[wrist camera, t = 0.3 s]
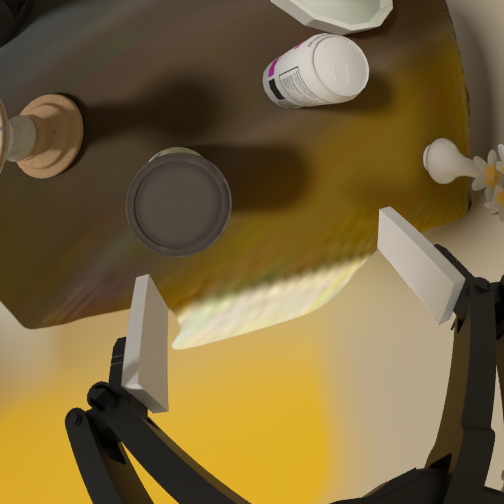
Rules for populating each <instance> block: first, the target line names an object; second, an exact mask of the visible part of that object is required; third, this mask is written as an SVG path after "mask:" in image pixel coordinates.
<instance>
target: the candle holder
mask: <svg viewBox="0 0 504 504" xmlns="http://www.w3.org/2000/svg"><path fill="white" fill-rule="evenodd" d="M83 130H84V128H83V120H82V116H81V113H80V111H79V109H78V107H77V106H76V105H75V103H74V102H73V101H71V100H70V99H69V98H67V97H65V96H63V95H59V94H47V95H43V96H41V97H39V98H37V99H35V100H33V101H32V102H31V103H30V104H28V105H27V106H26V107H25V109H24V110H23V111H22V112H21V114H20V115H18V116H14V117H12V118H10V119H9V120H8V116H7V112H6V109H5V106H4V104H3V102H2V100H1V98H0V174H1V172H2V170H3V166H4V163H5V160H8V161H11V162H17V163H18V165H19V167H20V168H21V169H22V170H23V171H24V172H25V173H27V174H28V175H30V176H32V177H35V178H50V177H53V176H55V175H58V174H59V173H61V172H62V171H64V170H65V169H66V168H67V167H68V166H69V165H70V164H71V163H72V162H73V160H74V159H75V157H76V156H77V154H78V152H79V149H80V147H81V144H82V139H83Z"/></svg>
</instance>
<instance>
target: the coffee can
mask: <svg viewBox="0 0 504 504" xmlns="http://www.w3.org/2000/svg"><path fill="white" fill-rule="evenodd" d="M125 209H126V216H127V220H128V223H129V226H130V228H131V230H132V232H133V233H134V235H135V236H136V238H137V239H138V240H139V241H140V242H141V243H142V244H143V245H144V246H146V247H147V248H148V249H150V250H152V251H154V252H156V253H158V254H161V255H164V256H170V257H185V256H190V255H194V254H197V253H199V252H201V251H203V250H205V249H207V248H208V247H210V246H211V245H212V244H213V243H215V242H216V241H217V240H218V238H219V237H220V236H221V235H222V233H223V232H224V230H225V229H226V226H227V224H228V222H229V219H230V215H231V210H232V196H231V191H230V187H229V185H228V182H227V180H226V178H225V177H224V175H223V174H222V172H221V171H220V170H219V169H218V168H217V167H216V166H215V165H214V164H213V163H211V162H210V161H208V160H207V159H205V158H203V157H202V156H201V155H200V154H198V153H197V152H195V151H193V150H191V149H188V148H183V147H173V148H168V149H165V150H162V151H161V152H159V153H157V154H156V155H155V156H153V157H152V158H151V159H150V161H149V162H148V163H147V164H146V165H144V166H143V167H142V168H141V169H140V170H139V171H138V173H137V174H136V175H135V177H134V178H133V180H132V182H131V184H130V186H129V189H128V192H127V196H126V204H125Z"/></svg>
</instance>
